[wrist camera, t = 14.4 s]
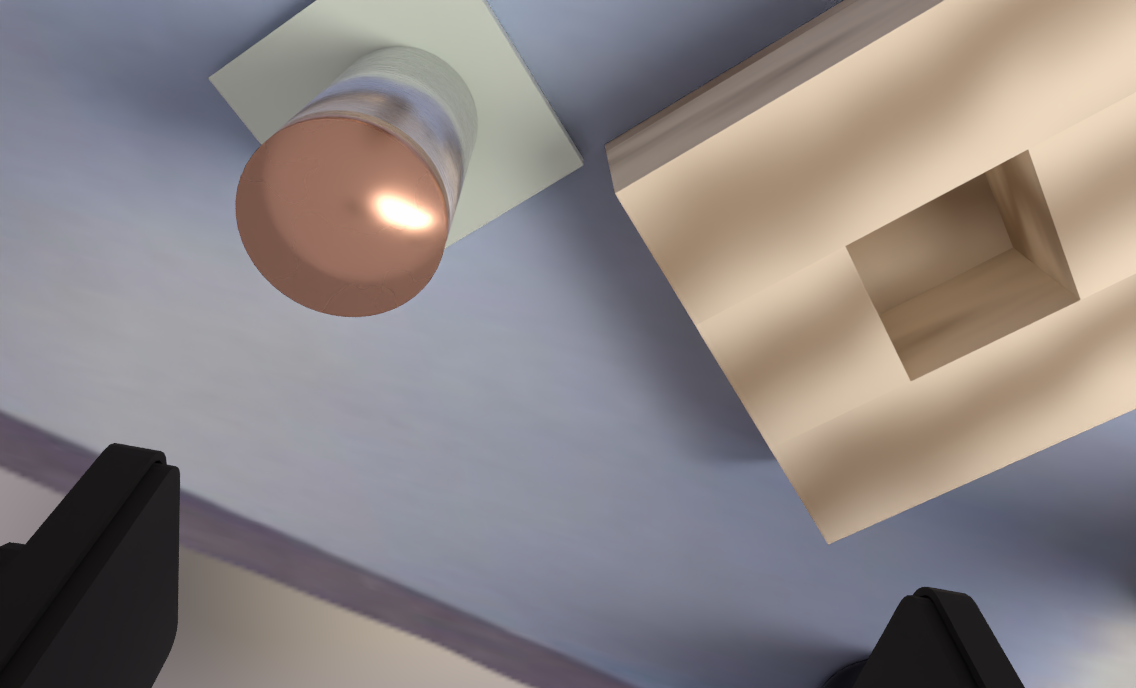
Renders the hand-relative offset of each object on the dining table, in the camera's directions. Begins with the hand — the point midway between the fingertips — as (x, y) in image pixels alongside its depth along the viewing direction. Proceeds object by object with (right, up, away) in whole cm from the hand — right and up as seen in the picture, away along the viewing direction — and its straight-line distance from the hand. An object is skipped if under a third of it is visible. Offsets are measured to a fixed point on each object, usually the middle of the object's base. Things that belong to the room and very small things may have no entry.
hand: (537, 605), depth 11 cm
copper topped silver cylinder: (-6, +12, +21) cm, 24 cm away
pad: (-6, +12, +22) cm, 25 cm away
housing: (+14, +9, +24) cm, 29 cm away
